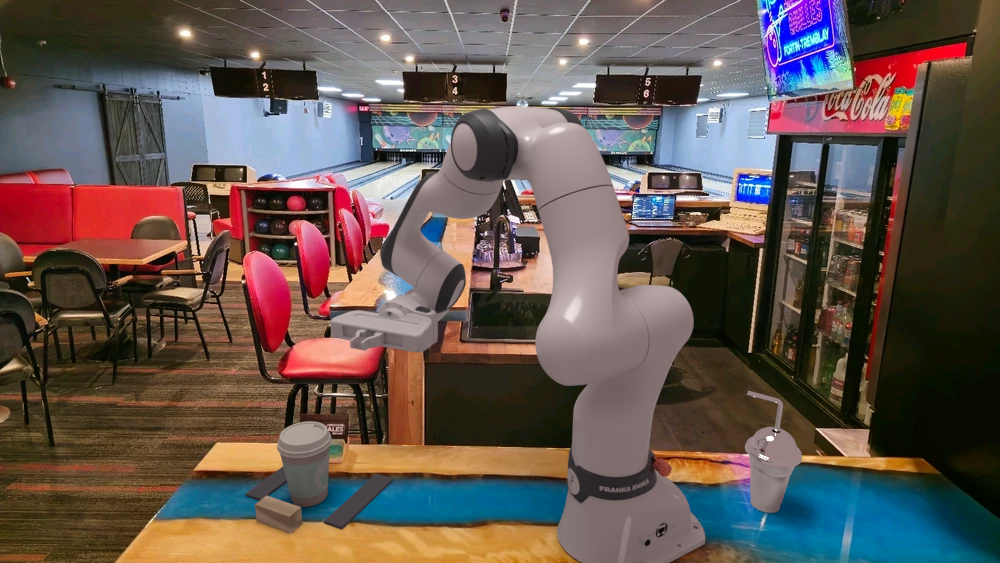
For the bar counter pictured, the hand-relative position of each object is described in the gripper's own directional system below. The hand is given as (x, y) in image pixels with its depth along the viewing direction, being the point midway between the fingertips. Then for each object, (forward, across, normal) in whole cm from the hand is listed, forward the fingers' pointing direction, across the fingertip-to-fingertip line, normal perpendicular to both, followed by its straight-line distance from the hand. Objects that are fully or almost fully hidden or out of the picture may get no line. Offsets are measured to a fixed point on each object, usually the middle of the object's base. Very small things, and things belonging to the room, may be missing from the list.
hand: (356, 345), depth 110 cm
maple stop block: (+22, 0, +22) cm, 31 cm away
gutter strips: (+12, 0, +22) cm, 25 cm away
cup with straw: (-15, +69, +23) cm, 74 cm away
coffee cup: (+14, -1, +22) cm, 26 cm away
